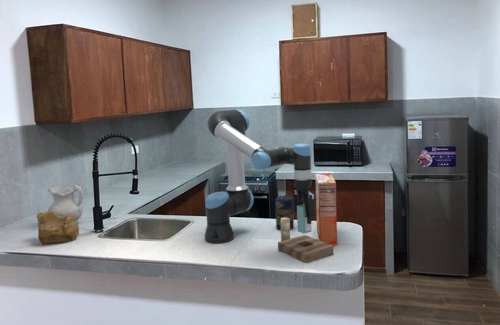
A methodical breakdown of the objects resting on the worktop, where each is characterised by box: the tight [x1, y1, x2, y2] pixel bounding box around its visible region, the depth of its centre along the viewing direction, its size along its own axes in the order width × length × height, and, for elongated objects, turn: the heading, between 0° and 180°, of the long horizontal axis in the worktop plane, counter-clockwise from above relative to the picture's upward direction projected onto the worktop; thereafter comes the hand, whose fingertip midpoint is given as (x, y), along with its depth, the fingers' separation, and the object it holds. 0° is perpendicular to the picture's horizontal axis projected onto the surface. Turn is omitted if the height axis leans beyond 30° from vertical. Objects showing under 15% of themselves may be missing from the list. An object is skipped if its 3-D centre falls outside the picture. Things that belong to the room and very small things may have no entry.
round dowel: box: [280, 218, 291, 241], centre depth 220 cm, size 4×4×12 cm
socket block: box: [277, 234, 334, 264], centre depth 207 cm, size 20×16×4 cm
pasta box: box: [315, 173, 338, 246], centre depth 225 cm, size 23×8×30 cm, turn 175°
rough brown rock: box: [36, 210, 80, 245], centre depth 240 cm, size 23×17×15 cm
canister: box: [274, 194, 295, 230], centre depth 243 cm, size 10×10×18 cm
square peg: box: [296, 203, 312, 234], centre depth 205 cm, size 4×4×12 cm
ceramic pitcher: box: [47, 184, 84, 225], centre depth 269 cm, size 22×20×25 cm
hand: (304, 228), depth 206 cm, fingers closed on square peg, 4 cm apart
